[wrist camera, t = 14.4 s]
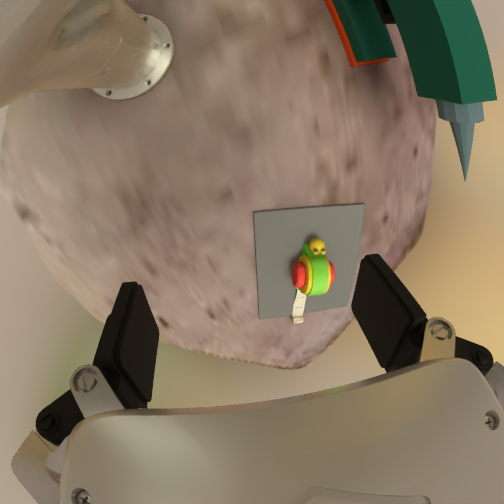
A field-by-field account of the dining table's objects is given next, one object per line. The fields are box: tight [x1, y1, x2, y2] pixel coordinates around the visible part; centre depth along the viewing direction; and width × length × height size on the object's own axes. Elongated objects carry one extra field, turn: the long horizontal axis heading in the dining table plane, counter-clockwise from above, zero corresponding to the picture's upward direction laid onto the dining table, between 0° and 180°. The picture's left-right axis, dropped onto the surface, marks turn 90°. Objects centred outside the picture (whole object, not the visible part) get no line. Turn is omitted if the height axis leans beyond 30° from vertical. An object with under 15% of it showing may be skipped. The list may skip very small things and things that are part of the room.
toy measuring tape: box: [291, 238, 335, 323], centre depth 45 cm, size 6×20×7 cm, turn 177°
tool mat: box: [253, 203, 365, 319], centre depth 46 cm, size 18×22×1 cm
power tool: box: [324, 0, 497, 181], centre depth 19 cm, size 32×7×20 cm, turn 21°
